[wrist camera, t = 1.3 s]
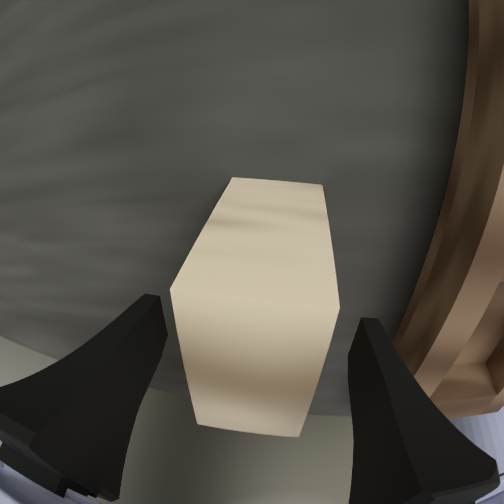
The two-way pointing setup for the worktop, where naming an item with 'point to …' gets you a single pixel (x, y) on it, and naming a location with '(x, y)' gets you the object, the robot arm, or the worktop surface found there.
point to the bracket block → (258, 307)
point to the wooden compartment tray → (466, 247)
